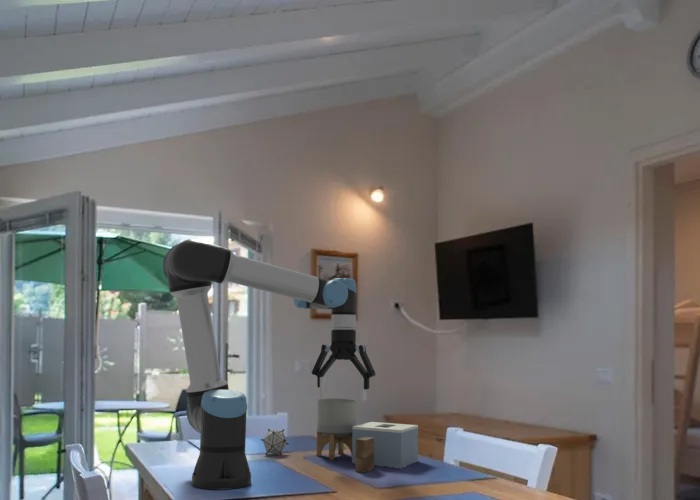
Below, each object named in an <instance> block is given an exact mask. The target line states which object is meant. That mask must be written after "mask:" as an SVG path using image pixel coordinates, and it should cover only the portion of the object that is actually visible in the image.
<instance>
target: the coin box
mask: <svg viewBox="0 0 700 500" xmlns="http://www.w3.org/2000/svg"><path fill="white" fill-rule="evenodd" d="M362 437H372V438H374V465H377V466H376V467H382V466H388V467H387V468H392V467H397V468H396V469H403V468H405V467H404V466H406V467H407V465H408V466H410V465H412V464H411V463H413V464H414V462H415V463H418V461H419V425H418V424H405V423H393V422H392V423H391V422H390V423H389V422H379V421H377V422H376V421H370V422H369V421H368V422H365V423H361V424H357V425H356V426H353V429H352V455H351V464H352V463H353V464H354V465H356V439H359V438H362ZM409 464H410V465H409ZM402 467H403V468H402Z"/></svg>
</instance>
